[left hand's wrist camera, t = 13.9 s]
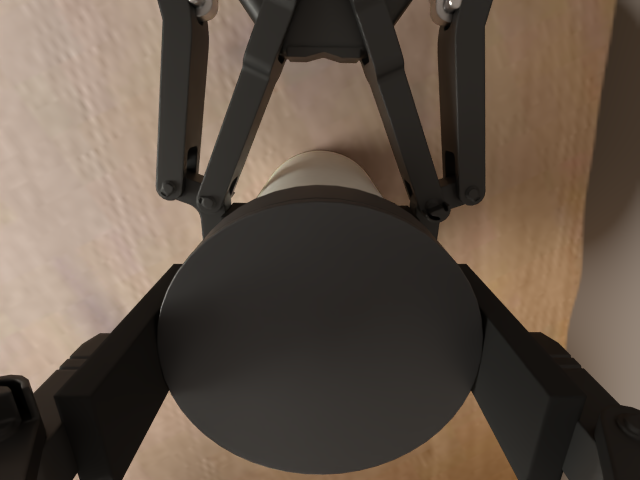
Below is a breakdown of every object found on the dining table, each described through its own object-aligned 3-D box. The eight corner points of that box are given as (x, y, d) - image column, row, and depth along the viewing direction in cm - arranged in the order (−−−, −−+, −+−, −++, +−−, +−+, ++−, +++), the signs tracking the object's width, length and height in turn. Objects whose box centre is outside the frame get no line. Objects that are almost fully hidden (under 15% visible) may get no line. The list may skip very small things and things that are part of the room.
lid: (489, 376, 13) (518, 422, 11) (260, 452, 15) (250, 506, 13) (404, 132, 10) (424, 138, 8) (126, 255, 12) (88, 285, 10)
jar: (394, 237, 26) (487, 403, 12) (292, 278, 27) (260, 476, 13) (351, 130, 24) (403, 171, 9) (241, 180, 25) (129, 287, 10)
